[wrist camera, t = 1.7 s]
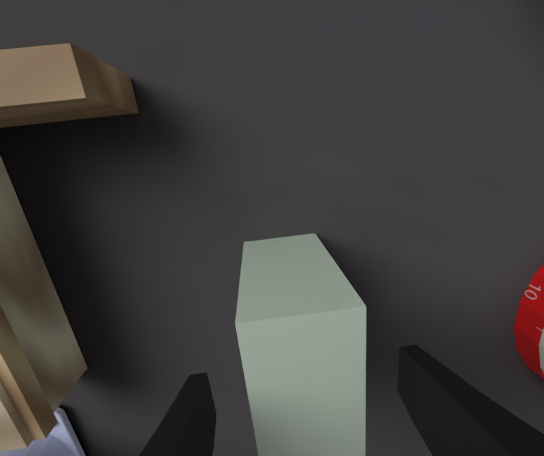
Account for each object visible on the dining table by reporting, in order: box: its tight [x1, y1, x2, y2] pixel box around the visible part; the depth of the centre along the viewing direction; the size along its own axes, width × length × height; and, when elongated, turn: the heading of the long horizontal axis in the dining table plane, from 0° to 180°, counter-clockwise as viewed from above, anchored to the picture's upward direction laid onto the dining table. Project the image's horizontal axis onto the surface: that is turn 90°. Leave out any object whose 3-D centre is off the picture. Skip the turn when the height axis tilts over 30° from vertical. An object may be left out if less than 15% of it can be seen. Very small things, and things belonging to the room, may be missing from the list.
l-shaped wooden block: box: [0, 43, 139, 452], centre depth 12 cm, size 16×8×4 cm, turn 6°
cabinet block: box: [235, 234, 366, 456], centre depth 12 cm, size 7×4×7 cm, turn 6°
